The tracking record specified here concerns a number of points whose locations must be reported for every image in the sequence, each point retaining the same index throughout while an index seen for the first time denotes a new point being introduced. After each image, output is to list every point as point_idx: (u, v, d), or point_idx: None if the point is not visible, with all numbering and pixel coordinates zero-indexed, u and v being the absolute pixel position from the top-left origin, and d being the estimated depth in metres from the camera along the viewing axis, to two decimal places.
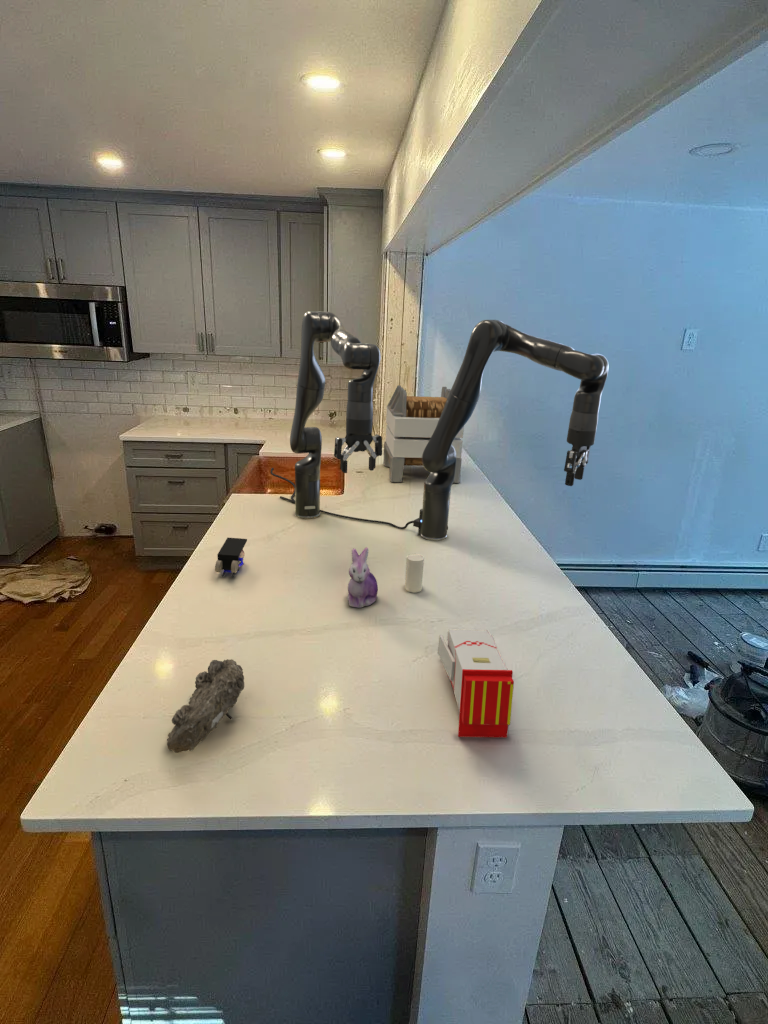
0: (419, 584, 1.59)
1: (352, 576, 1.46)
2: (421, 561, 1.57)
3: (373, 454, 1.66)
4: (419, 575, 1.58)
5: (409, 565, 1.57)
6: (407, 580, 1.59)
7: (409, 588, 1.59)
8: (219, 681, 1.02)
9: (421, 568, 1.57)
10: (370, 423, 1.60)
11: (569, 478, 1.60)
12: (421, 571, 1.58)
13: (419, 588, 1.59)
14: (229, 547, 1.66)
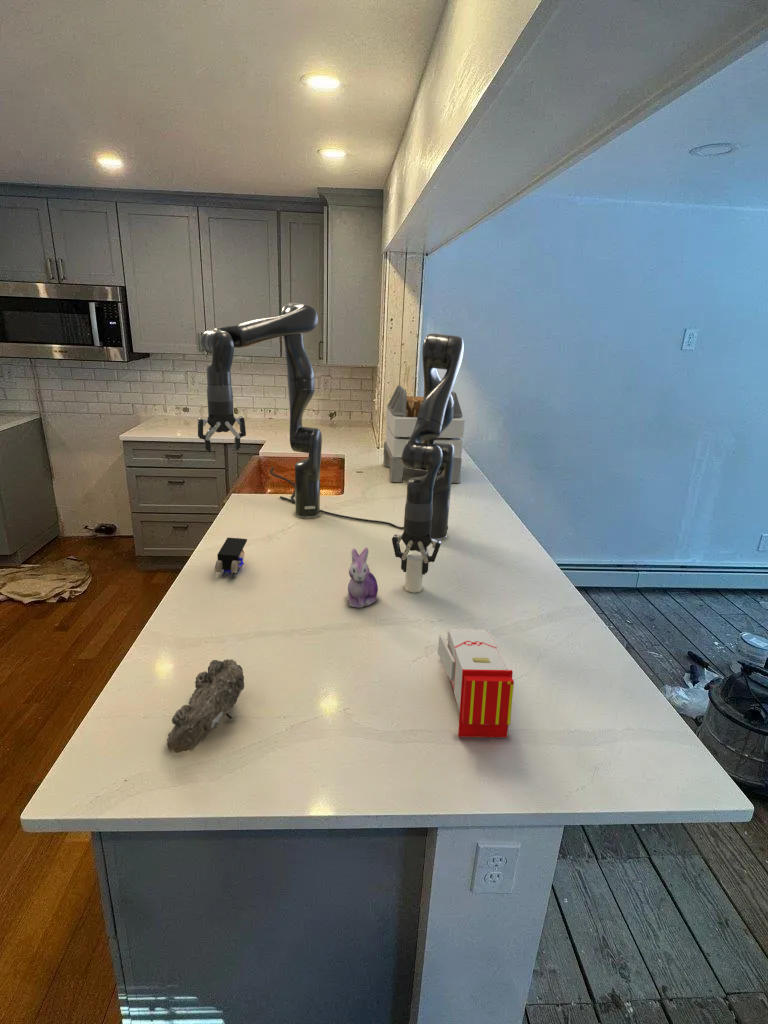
0: (419, 584, 1.59)
1: (352, 576, 1.46)
2: (421, 561, 1.57)
3: (236, 435, 1.77)
4: (419, 575, 1.58)
5: (409, 565, 1.57)
6: (407, 580, 1.59)
7: (409, 588, 1.59)
8: (219, 681, 1.02)
9: (421, 568, 1.57)
10: (229, 405, 1.71)
11: None
12: (421, 571, 1.58)
13: (419, 588, 1.59)
14: (229, 547, 1.66)
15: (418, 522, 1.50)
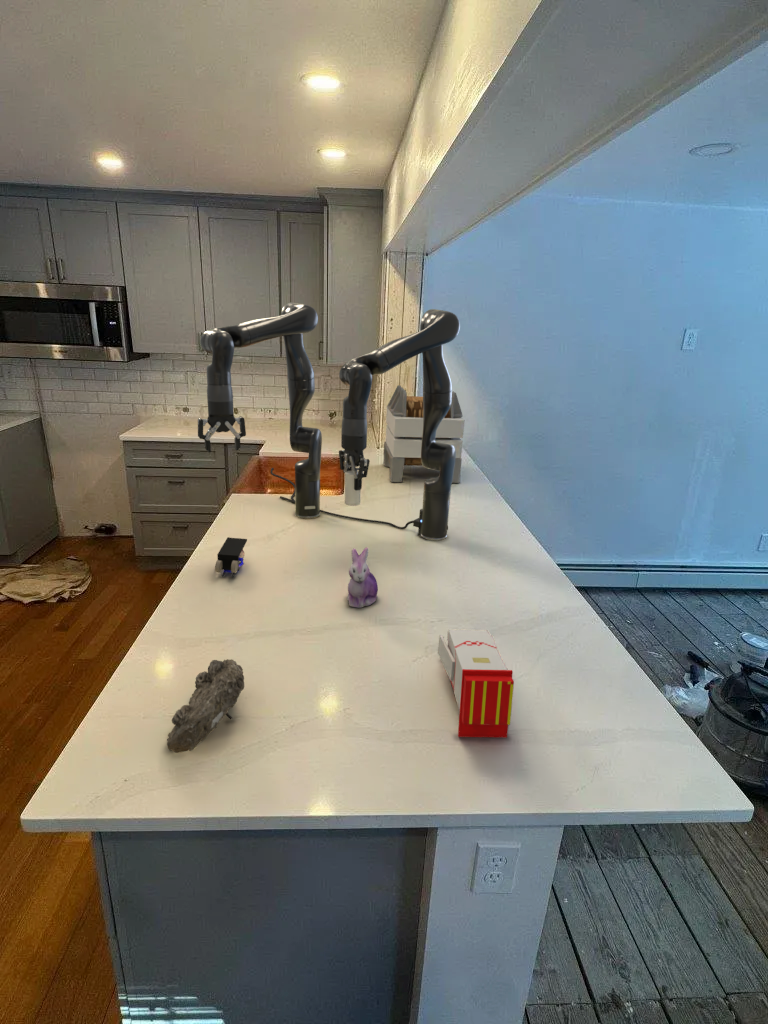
0: (351, 498, 1.71)
1: (352, 576, 1.46)
2: (352, 476, 1.69)
3: (236, 435, 1.77)
4: (351, 489, 1.70)
5: (345, 478, 1.71)
6: None
7: None
8: (219, 681, 1.02)
9: (353, 483, 1.70)
10: (229, 405, 1.71)
11: (360, 483, 1.69)
12: (353, 486, 1.70)
13: (351, 502, 1.72)
14: (229, 547, 1.66)
15: (344, 435, 1.64)
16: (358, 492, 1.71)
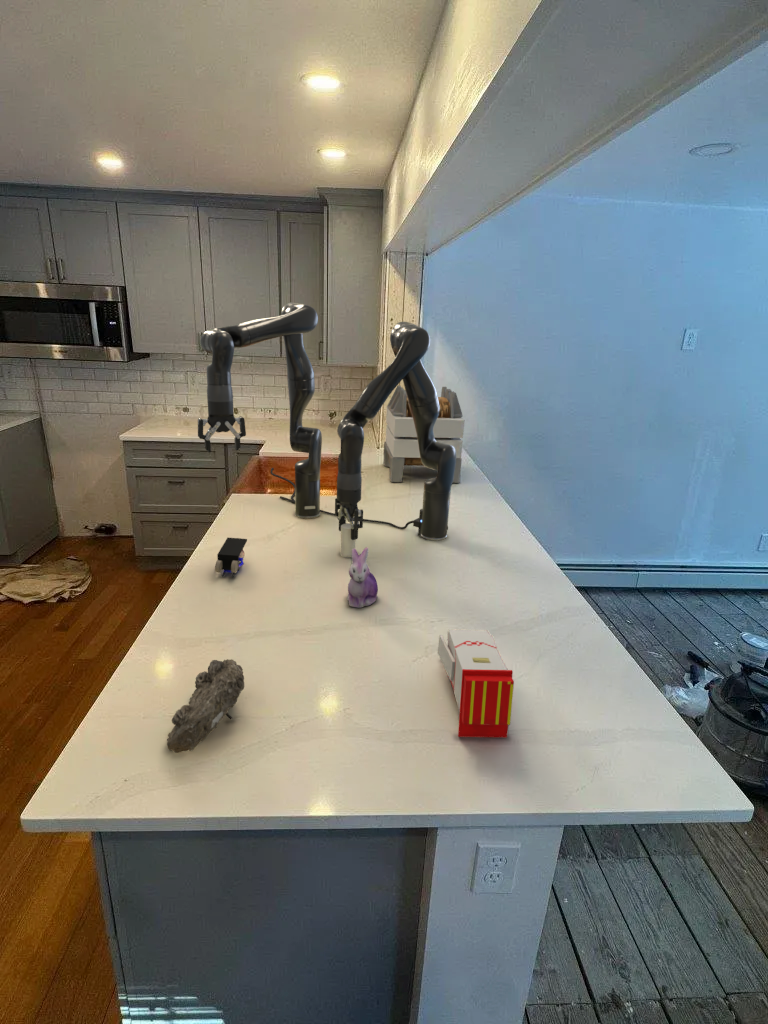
0: (346, 550, 1.79)
1: (352, 576, 1.46)
2: (347, 530, 1.76)
3: (236, 435, 1.77)
4: (346, 541, 1.78)
5: None
6: None
7: (340, 551, 1.81)
8: (219, 681, 1.02)
9: (348, 536, 1.77)
10: (229, 405, 1.71)
11: (356, 533, 1.75)
12: (348, 539, 1.77)
13: (346, 554, 1.79)
14: (229, 547, 1.66)
15: (339, 489, 1.71)
16: (353, 544, 1.79)
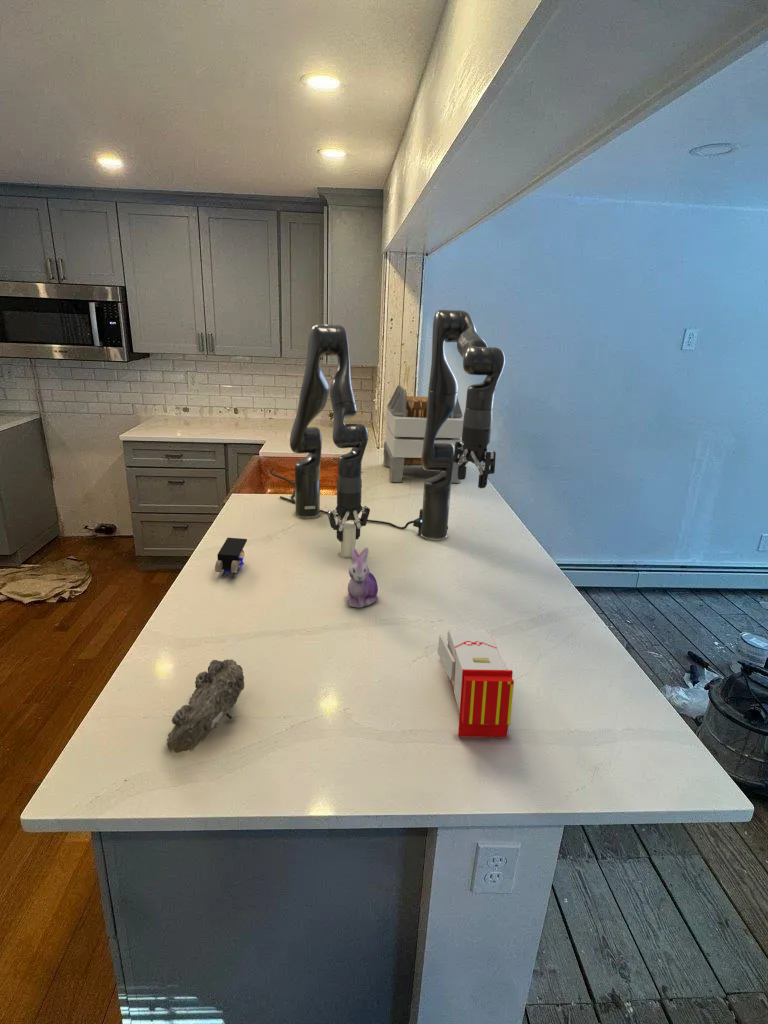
0: (346, 550, 1.79)
1: (352, 576, 1.46)
2: (347, 530, 1.76)
3: (358, 525, 1.78)
4: (346, 541, 1.78)
5: None
6: None
7: (340, 551, 1.81)
8: (219, 681, 1.02)
9: (348, 536, 1.77)
10: (359, 495, 1.73)
11: (485, 480, 1.51)
12: (348, 539, 1.77)
13: (346, 554, 1.79)
14: (229, 547, 1.66)
15: (468, 428, 1.48)
16: (353, 544, 1.79)
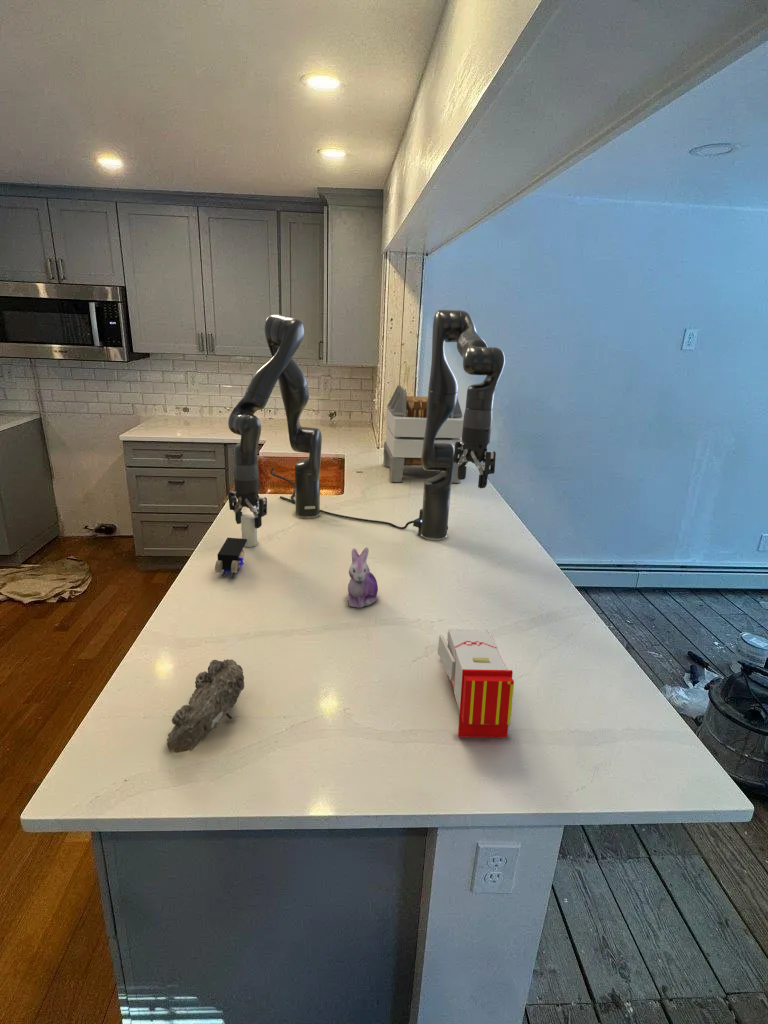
0: (242, 538, 1.84)
1: (352, 576, 1.46)
2: (241, 518, 1.81)
3: (254, 514, 1.79)
4: None
5: None
6: None
7: None
8: (219, 681, 1.02)
9: (242, 525, 1.82)
10: (245, 484, 1.75)
11: (485, 480, 1.51)
12: (242, 528, 1.82)
13: None
14: (229, 547, 1.66)
15: (468, 428, 1.48)
16: (246, 535, 1.82)
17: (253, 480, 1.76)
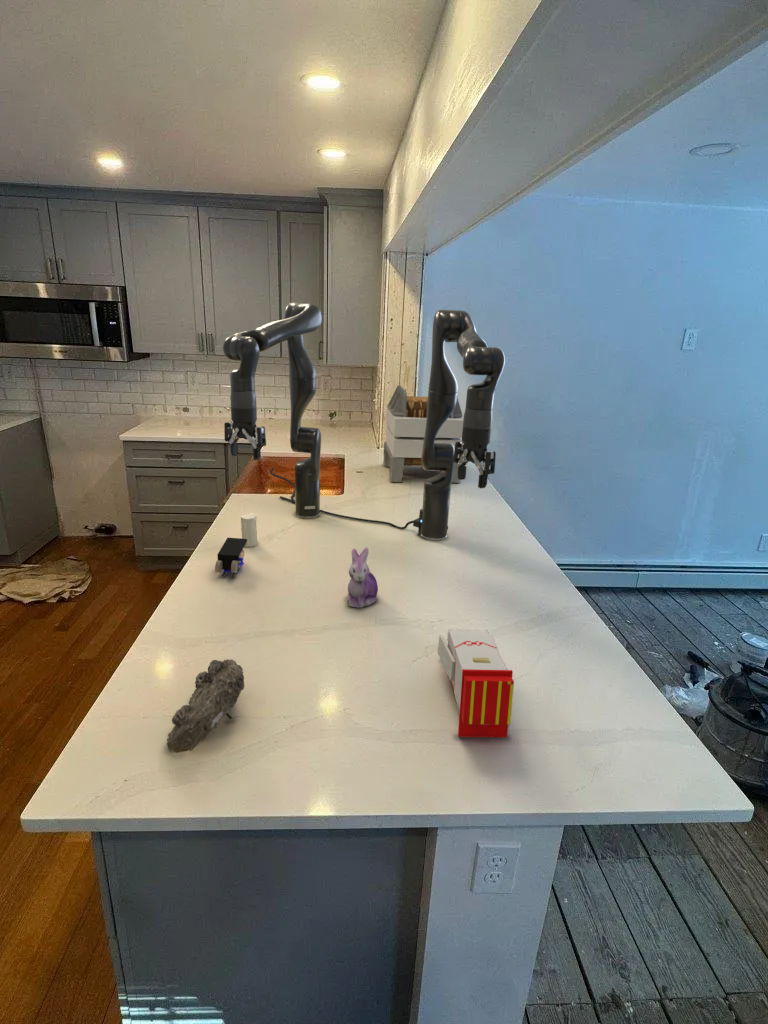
0: (242, 538, 1.84)
1: (352, 576, 1.46)
2: (241, 518, 1.81)
3: (253, 444, 1.71)
4: None
5: None
6: None
7: None
8: (219, 681, 1.02)
9: (242, 525, 1.82)
10: (242, 412, 1.67)
11: (485, 480, 1.51)
12: (242, 528, 1.82)
13: None
14: (229, 547, 1.66)
15: (468, 428, 1.48)
16: (246, 535, 1.82)
17: (250, 408, 1.68)
